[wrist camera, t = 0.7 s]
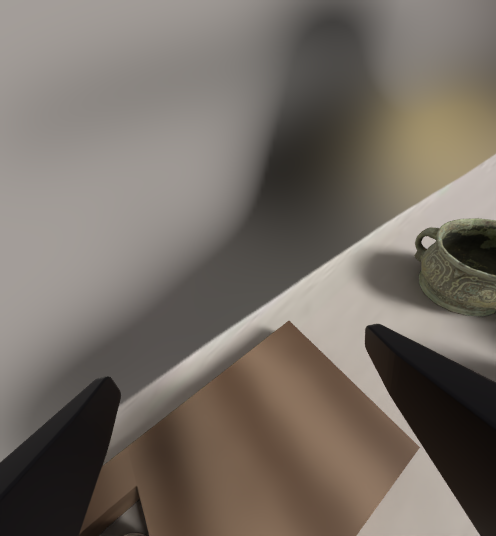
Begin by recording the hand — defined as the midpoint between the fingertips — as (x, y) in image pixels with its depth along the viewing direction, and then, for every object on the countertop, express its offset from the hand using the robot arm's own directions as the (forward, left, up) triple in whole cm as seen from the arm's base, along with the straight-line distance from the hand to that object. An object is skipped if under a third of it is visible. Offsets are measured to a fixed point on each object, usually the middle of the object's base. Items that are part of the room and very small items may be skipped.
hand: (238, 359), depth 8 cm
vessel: (+19, -17, -15) cm, 30 cm away
